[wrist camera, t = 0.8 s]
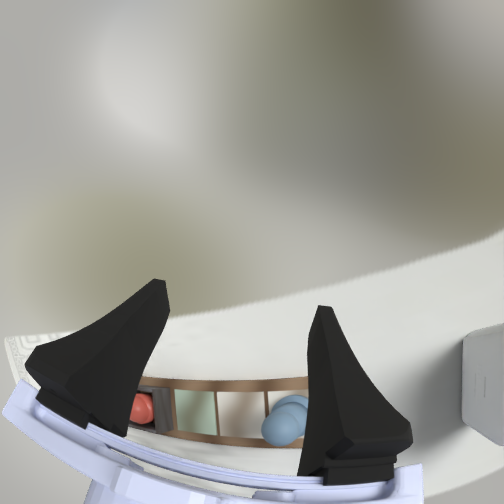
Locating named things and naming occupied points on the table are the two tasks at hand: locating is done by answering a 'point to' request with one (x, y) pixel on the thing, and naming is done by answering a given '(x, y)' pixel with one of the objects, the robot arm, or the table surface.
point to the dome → (142, 409)
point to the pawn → (286, 420)
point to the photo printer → (484, 382)
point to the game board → (217, 409)
